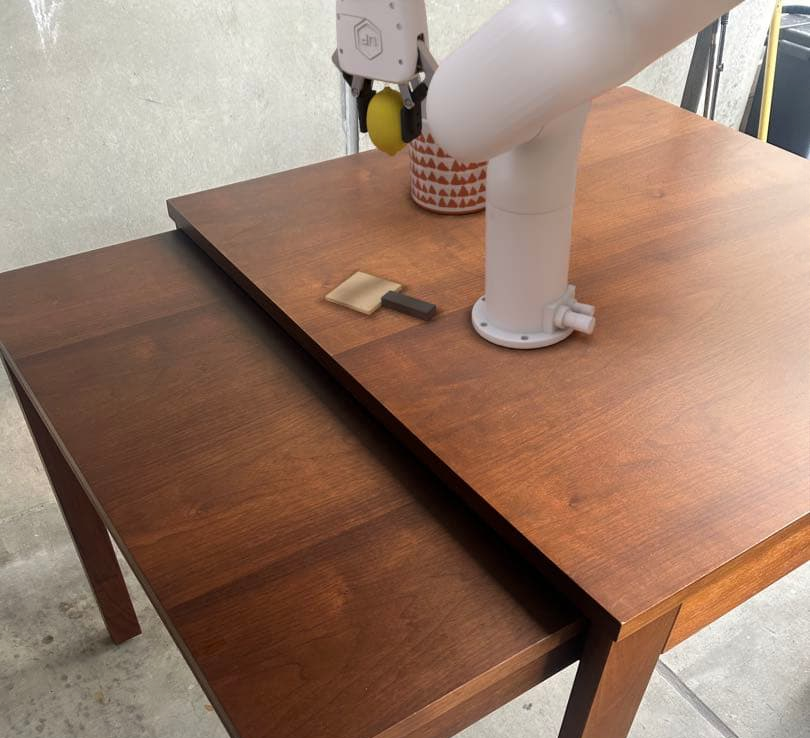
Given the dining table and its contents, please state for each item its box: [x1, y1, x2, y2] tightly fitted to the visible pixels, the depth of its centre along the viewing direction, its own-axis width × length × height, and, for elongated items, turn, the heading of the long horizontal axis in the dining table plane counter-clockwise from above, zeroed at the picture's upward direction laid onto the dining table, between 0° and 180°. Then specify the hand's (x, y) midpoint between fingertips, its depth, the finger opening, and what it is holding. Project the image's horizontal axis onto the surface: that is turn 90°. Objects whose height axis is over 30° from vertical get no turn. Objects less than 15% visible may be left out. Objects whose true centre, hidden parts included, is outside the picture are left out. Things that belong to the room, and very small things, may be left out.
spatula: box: [324, 270, 437, 322], centre depth 108 cm, size 14×7×1 cm, turn 55°
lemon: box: [367, 86, 409, 157], centre depth 103 cm, size 6×6×8 cm
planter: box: [407, 96, 489, 215], centre depth 123 cm, size 14×14×13 cm
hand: (390, 132), depth 104 cm, fingers closed on lemon, 5 cm apart
